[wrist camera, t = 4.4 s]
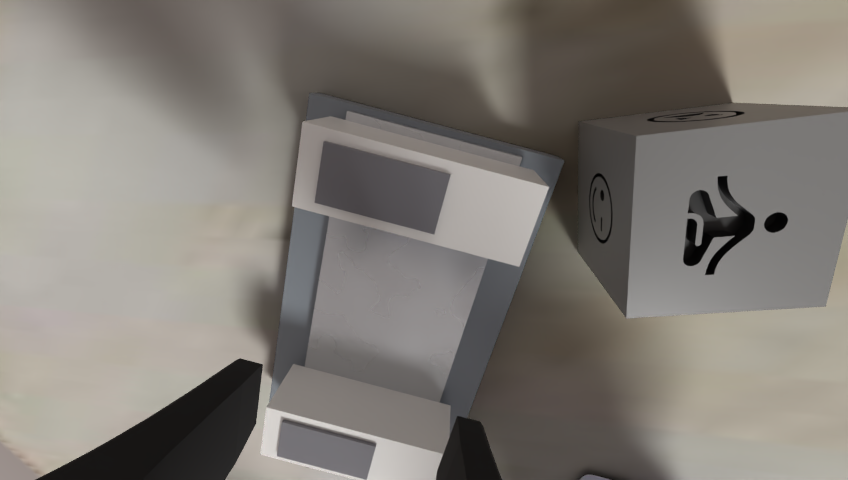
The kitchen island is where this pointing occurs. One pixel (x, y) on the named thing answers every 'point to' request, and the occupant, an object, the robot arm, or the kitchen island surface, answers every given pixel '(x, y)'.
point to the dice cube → (714, 207)
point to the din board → (398, 285)
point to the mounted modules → (411, 217)
